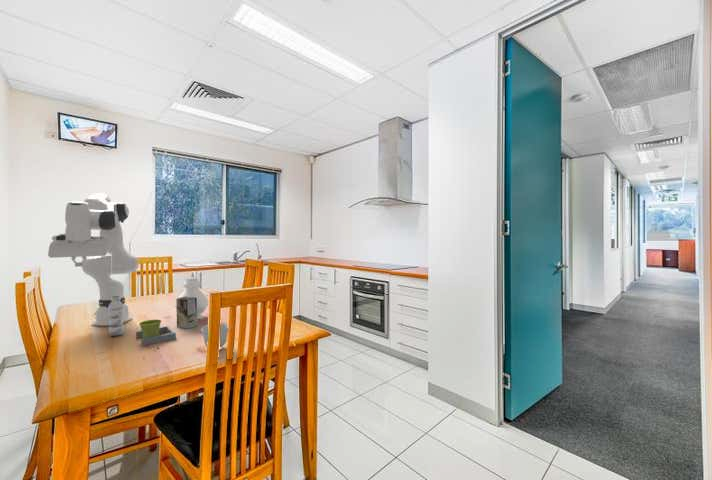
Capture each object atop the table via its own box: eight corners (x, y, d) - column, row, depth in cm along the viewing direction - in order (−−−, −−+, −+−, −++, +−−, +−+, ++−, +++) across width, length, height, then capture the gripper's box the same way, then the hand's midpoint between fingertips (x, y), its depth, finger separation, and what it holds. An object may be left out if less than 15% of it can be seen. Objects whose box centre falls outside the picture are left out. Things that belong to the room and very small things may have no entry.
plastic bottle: (115, 338, 155) (115, 298, 154) (104, 336, 156) (104, 297, 155) (127, 333, 161) (127, 295, 160) (116, 332, 162) (116, 295, 162)
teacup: (219, 340, 152) (219, 320, 152) (234, 348, 143) (234, 327, 142) (193, 347, 143) (193, 326, 143) (208, 356, 133) (208, 333, 133)
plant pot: (135, 343, 148) (134, 325, 148) (144, 336, 157) (144, 319, 157) (156, 342, 149) (156, 324, 149) (165, 335, 159) (164, 319, 158)
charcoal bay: (136, 337, 156) (136, 331, 156) (168, 331, 166) (168, 325, 165) (141, 345, 145) (141, 339, 145) (175, 338, 154) (175, 332, 154)
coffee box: (197, 325, 176) (197, 297, 175) (187, 328, 170) (187, 299, 170) (186, 323, 179) (185, 296, 179) (175, 326, 174) (175, 298, 173)
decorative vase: (214, 316, 195) (214, 277, 194) (189, 324, 179) (189, 281, 178) (195, 313, 202) (194, 275, 201) (168, 320, 186) (168, 278, 185)
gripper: (106, 236, 152) (107, 264, 153) (48, 236, 138) (48, 267, 139) (107, 236, 148) (108, 265, 148) (47, 236, 134) (48, 268, 134)
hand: (79, 266), depth 143 cm, fingers closed
